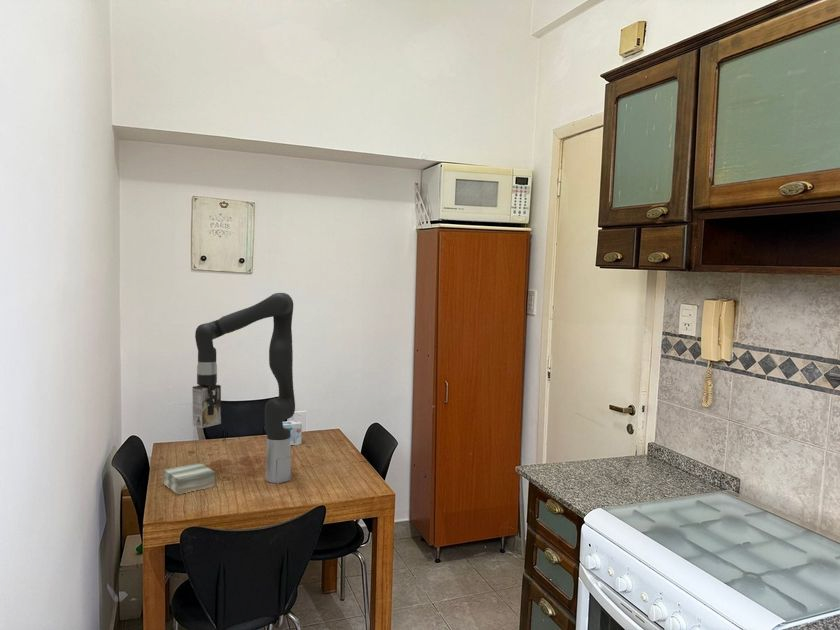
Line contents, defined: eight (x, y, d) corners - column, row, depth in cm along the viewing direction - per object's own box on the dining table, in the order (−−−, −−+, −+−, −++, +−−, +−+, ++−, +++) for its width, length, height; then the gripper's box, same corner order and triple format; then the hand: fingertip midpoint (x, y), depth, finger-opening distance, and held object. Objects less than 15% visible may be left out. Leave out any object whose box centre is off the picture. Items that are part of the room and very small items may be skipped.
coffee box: (211, 421, 242) (211, 383, 241) (221, 424, 239) (221, 385, 238) (191, 425, 235) (192, 386, 234) (202, 428, 231) (202, 388, 230)
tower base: (214, 486, 226) (214, 471, 226) (178, 495, 216) (178, 479, 216) (199, 477, 236) (199, 462, 236) (163, 484, 226) (163, 469, 226)
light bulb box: (280, 447, 281) (280, 425, 280) (276, 443, 286) (277, 421, 286) (302, 445, 286) (302, 423, 285) (298, 441, 291) (298, 420, 291)
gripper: (223, 374, 233) (223, 415, 234) (208, 369, 243) (208, 408, 244) (205, 376, 228) (204, 417, 229) (190, 371, 238) (190, 411, 239)
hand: (206, 413), depth 236 cm, fingers closed on coffee box, 7 cm apart
